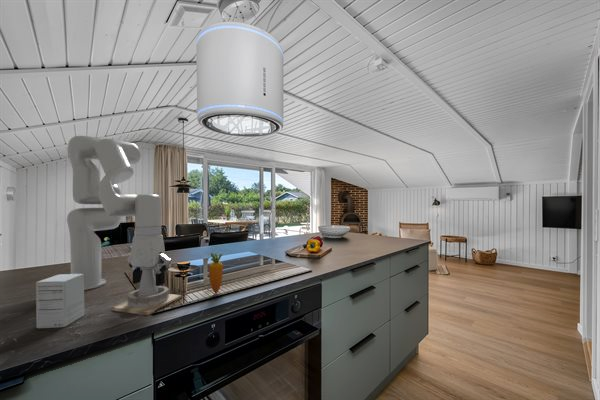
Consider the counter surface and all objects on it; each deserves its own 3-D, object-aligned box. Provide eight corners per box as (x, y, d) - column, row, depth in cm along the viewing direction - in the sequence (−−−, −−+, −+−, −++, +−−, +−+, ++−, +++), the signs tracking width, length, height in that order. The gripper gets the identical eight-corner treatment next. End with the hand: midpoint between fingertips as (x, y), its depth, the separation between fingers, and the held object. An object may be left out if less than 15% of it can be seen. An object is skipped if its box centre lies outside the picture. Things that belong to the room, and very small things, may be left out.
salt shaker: (149, 304, 81) (148, 263, 81) (133, 303, 82) (132, 263, 82) (162, 297, 87) (161, 259, 87) (147, 297, 88) (146, 259, 88)
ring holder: (112, 310, 79) (112, 297, 79) (149, 294, 93) (149, 283, 93) (147, 315, 76) (147, 301, 76) (181, 298, 89) (181, 286, 89)
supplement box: (58, 316, 75) (58, 273, 76) (85, 315, 76) (85, 273, 76) (34, 329, 68) (34, 281, 68) (64, 327, 69) (64, 280, 69)
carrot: (225, 291, 95) (225, 251, 95) (217, 296, 90) (217, 254, 90) (214, 290, 96) (214, 250, 97) (205, 295, 92) (205, 253, 92)
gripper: (117, 232, 83) (117, 285, 83) (160, 233, 78) (161, 289, 78) (137, 229, 90) (138, 278, 90) (178, 230, 86) (178, 282, 86)
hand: (148, 283), depth 84 cm, fingers open, 9 cm apart
